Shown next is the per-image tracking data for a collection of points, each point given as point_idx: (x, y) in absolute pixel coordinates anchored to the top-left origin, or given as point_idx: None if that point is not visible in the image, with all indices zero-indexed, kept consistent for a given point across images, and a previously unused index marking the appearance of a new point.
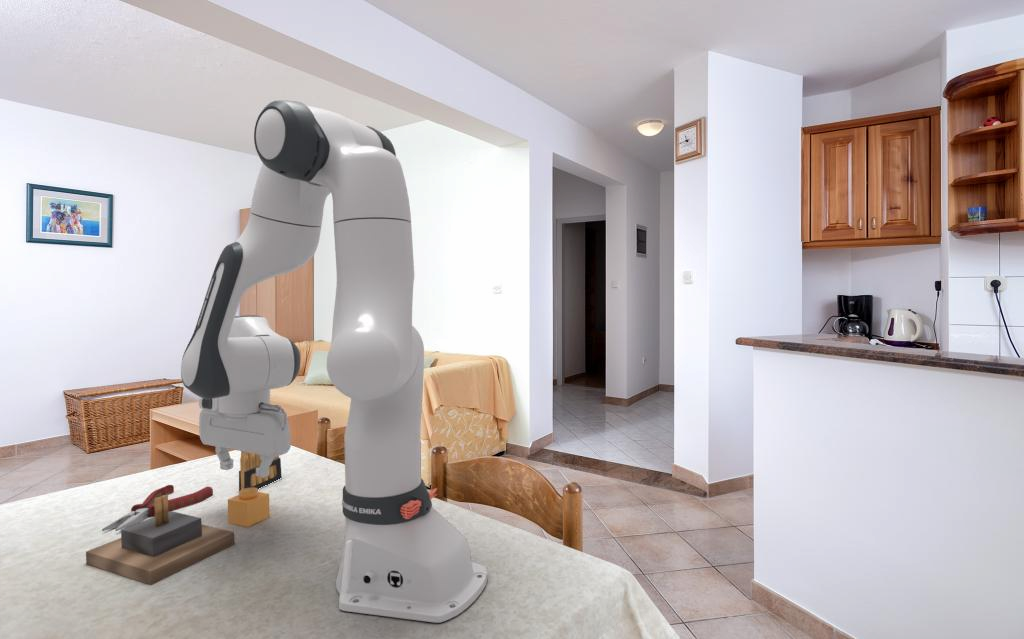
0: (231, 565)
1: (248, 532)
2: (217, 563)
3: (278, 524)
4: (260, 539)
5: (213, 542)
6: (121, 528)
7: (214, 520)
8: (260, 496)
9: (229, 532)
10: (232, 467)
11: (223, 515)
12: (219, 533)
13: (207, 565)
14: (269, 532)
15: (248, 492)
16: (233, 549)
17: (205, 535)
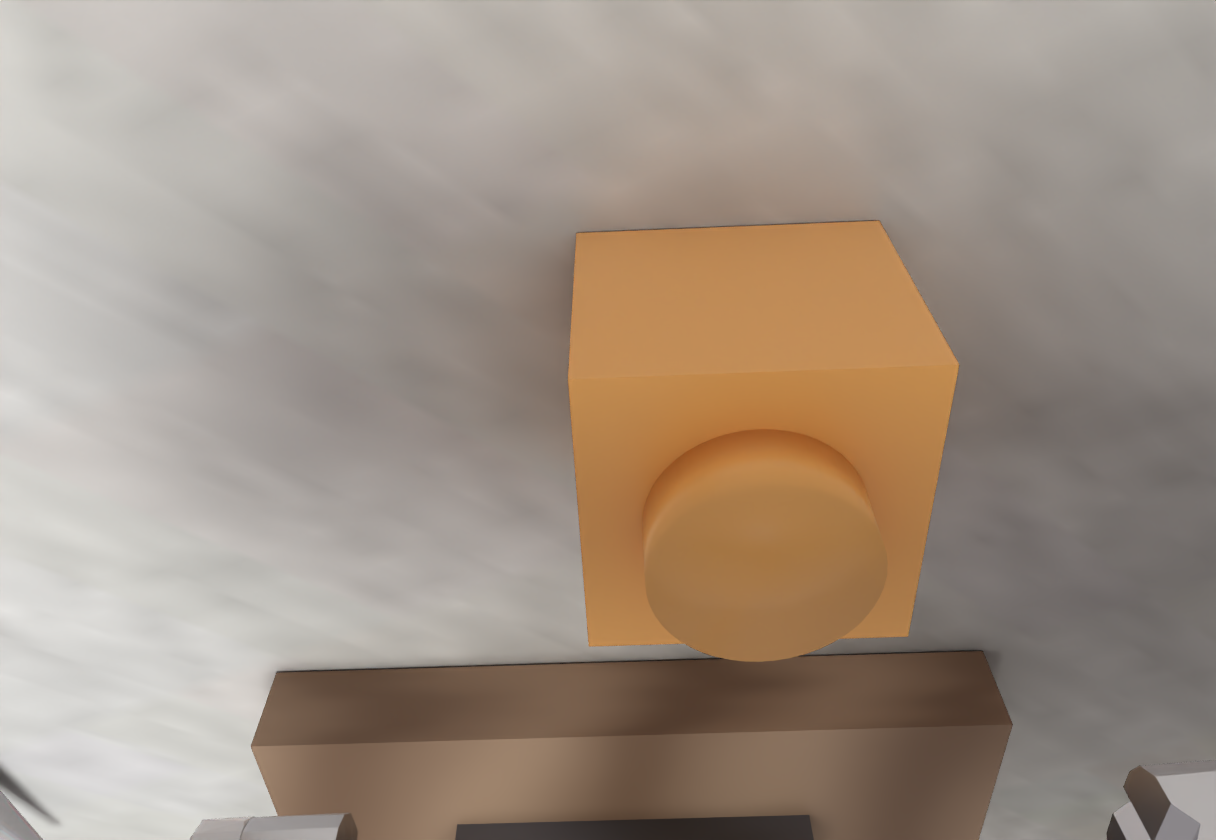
0: None
1: (940, 513)
2: (1076, 799)
3: (1115, 309)
4: (1143, 549)
5: (980, 829)
6: (25, 825)
7: (411, 482)
8: (909, 465)
9: (977, 736)
10: (344, 822)
11: (366, 386)
12: (913, 767)
13: (1033, 824)
14: (1138, 449)
15: (830, 616)
16: (1042, 691)
17: (835, 808)
